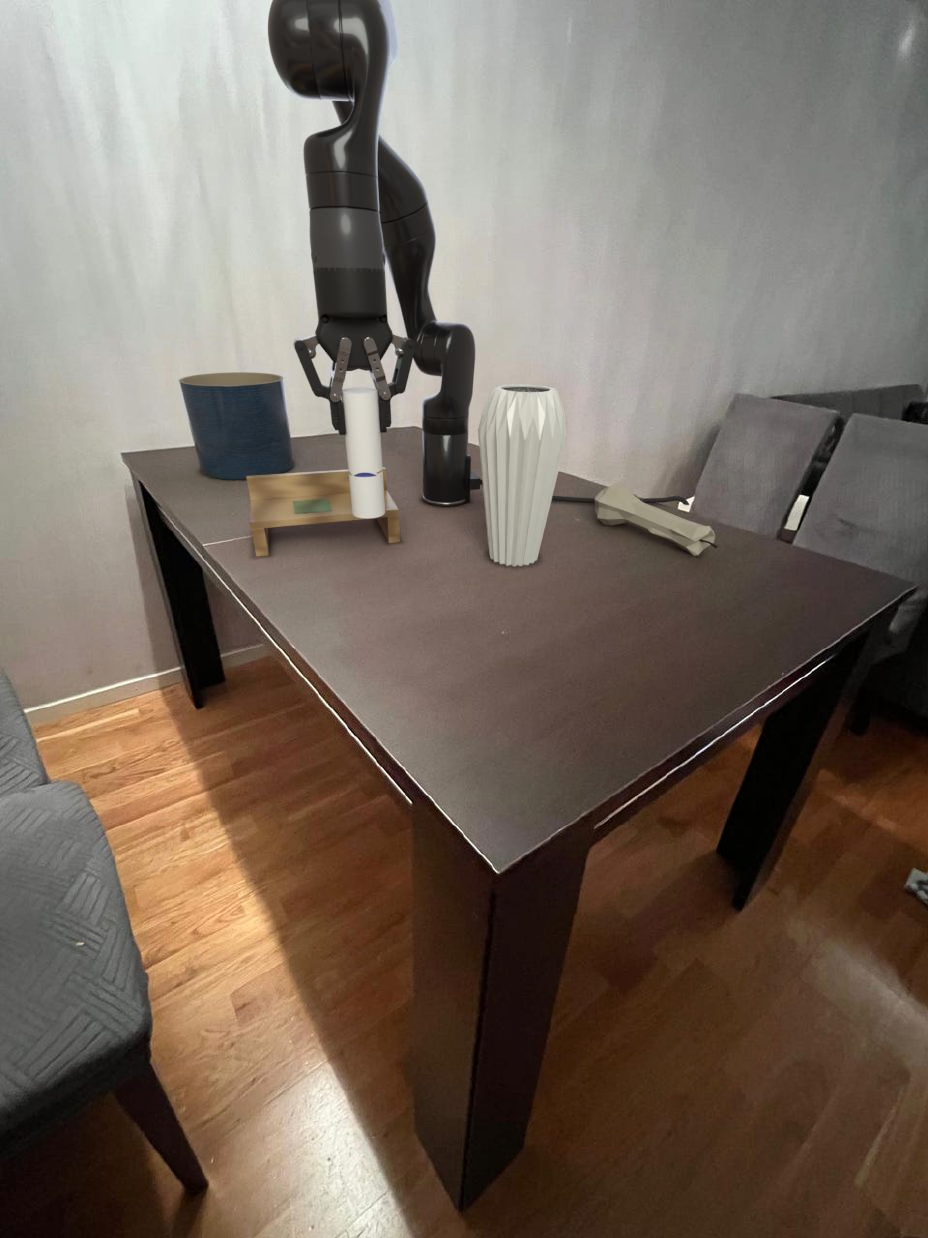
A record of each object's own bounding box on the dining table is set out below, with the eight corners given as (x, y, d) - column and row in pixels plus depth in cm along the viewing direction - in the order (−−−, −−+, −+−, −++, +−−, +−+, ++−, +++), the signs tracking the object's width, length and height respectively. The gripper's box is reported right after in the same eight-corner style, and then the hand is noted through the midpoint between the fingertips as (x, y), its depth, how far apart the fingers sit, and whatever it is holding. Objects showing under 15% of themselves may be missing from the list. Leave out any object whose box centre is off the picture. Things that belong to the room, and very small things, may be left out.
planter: (195, 461, 138) (175, 374, 127) (285, 452, 147) (273, 370, 136) (204, 485, 121) (181, 387, 110) (304, 474, 130) (292, 382, 119)
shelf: (387, 518, 106) (384, 466, 101) (400, 542, 96) (397, 486, 91) (256, 530, 99) (246, 475, 94) (256, 556, 89) (244, 497, 84)
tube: (369, 504, 74) (360, 386, 66) (392, 512, 72) (385, 390, 64) (345, 513, 71) (333, 390, 64) (367, 521, 69) (357, 394, 61)
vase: (487, 578, 85) (496, 396, 71) (464, 544, 96) (468, 382, 82) (566, 569, 88) (588, 394, 74) (535, 538, 99) (550, 380, 85)
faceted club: (611, 508, 111) (727, 553, 95) (583, 528, 107) (699, 578, 92) (612, 468, 105) (737, 510, 89) (583, 488, 101) (707, 535, 86)
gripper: (407, 267, 63) (412, 423, 71) (277, 264, 59) (299, 429, 68) (423, 265, 56) (427, 436, 65) (279, 262, 53) (304, 443, 61)
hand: (362, 431), depth 66 cm, fingers closed on tube, 4 cm apart
